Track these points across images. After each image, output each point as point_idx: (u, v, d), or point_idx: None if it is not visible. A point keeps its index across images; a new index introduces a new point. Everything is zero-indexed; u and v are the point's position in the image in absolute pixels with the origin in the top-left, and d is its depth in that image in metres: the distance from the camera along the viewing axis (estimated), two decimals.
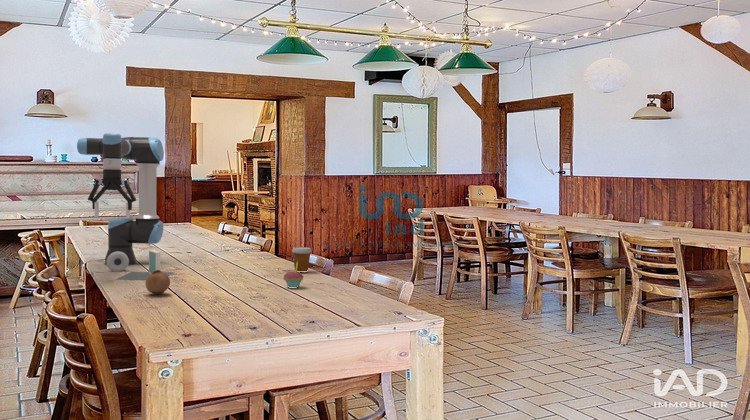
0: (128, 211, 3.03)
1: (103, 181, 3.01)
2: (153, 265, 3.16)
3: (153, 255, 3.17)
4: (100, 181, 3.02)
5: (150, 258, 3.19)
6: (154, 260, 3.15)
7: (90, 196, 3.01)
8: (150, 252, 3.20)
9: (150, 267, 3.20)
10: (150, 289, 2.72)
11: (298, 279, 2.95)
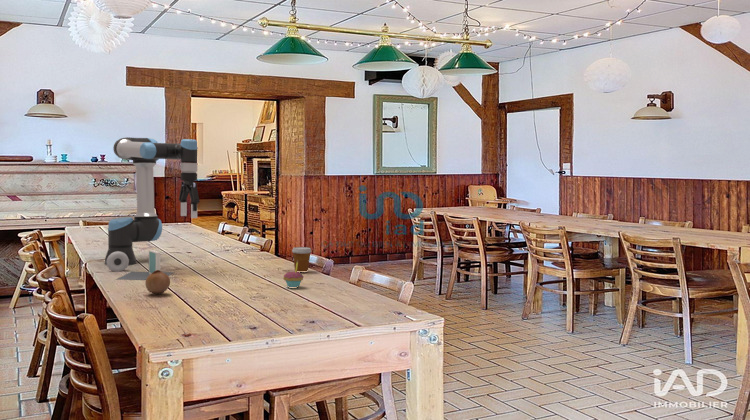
0: (194, 212, 3.21)
1: (184, 183, 3.28)
2: (153, 265, 3.16)
3: (153, 255, 3.17)
4: (184, 183, 3.30)
5: (150, 258, 3.19)
6: (154, 260, 3.15)
7: (179, 197, 3.33)
8: (150, 252, 3.20)
9: (150, 267, 3.20)
10: (150, 289, 2.72)
11: (298, 279, 2.95)
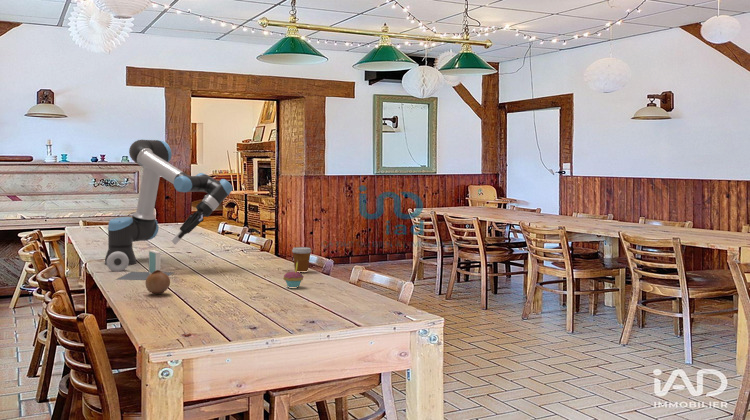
0: (177, 238, 3.23)
1: None
2: (153, 265, 3.16)
3: (153, 255, 3.17)
4: None
5: (150, 258, 3.19)
6: (154, 260, 3.15)
7: (182, 225, 3.28)
8: (150, 252, 3.20)
9: (150, 267, 3.20)
10: (150, 289, 2.72)
11: (298, 279, 2.95)
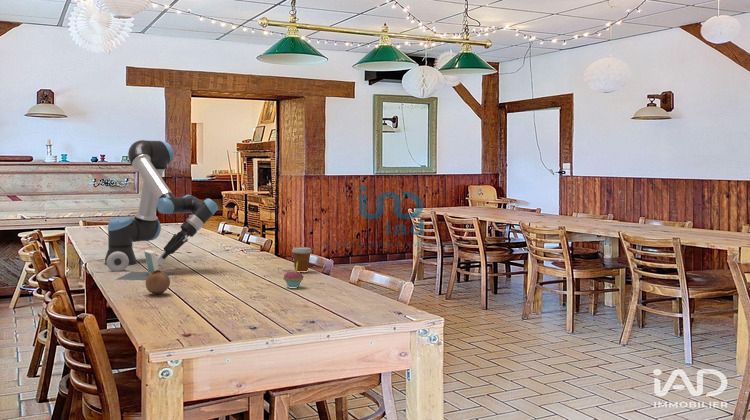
0: (161, 258, 3.19)
1: None
2: (151, 266, 3.16)
3: (149, 256, 3.15)
4: None
5: (147, 259, 3.18)
6: (151, 261, 3.15)
7: (166, 246, 3.24)
8: (146, 253, 3.18)
9: (149, 267, 3.20)
10: (150, 289, 2.72)
11: (298, 279, 2.95)
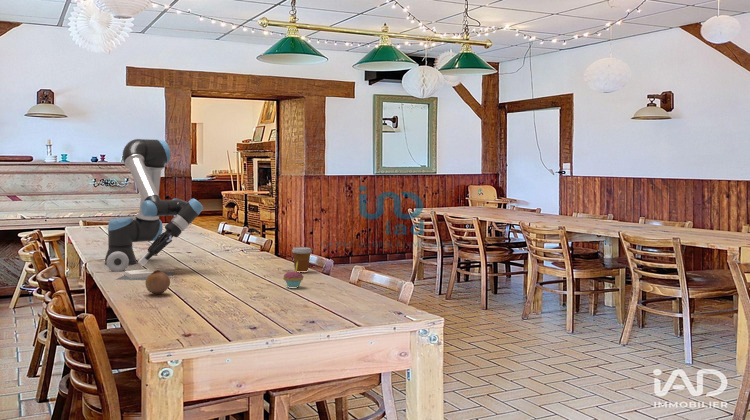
0: (144, 259, 3.15)
1: (163, 233, 3.23)
2: None
3: None
4: None
5: None
6: None
7: (150, 246, 3.20)
8: None
9: None
10: (150, 289, 2.72)
11: (298, 279, 2.95)
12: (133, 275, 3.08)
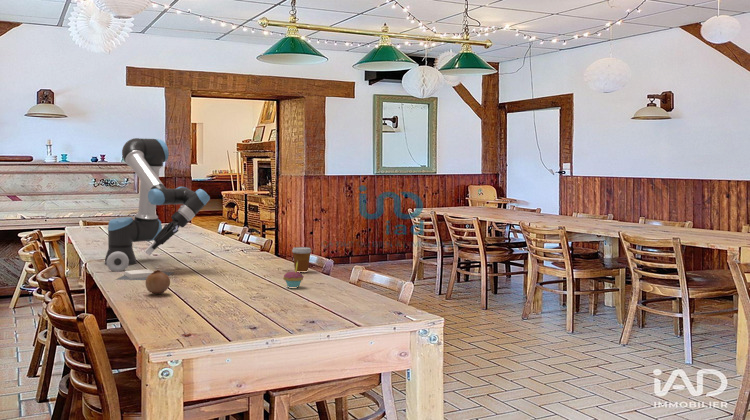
0: (151, 249, 3.17)
1: (170, 223, 3.25)
2: None
3: None
4: None
5: None
6: None
7: (156, 236, 3.22)
8: None
9: None
10: (150, 289, 2.72)
11: (298, 279, 2.95)
12: (133, 275, 3.08)
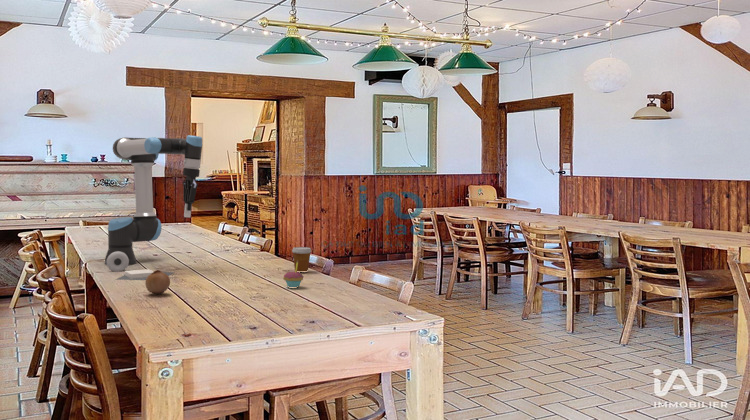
0: (187, 211, 3.30)
1: (185, 179, 3.32)
2: None
3: None
4: None
5: None
6: None
7: (183, 197, 3.32)
8: None
9: None
10: (150, 289, 2.72)
11: (298, 279, 2.95)
12: (133, 275, 3.08)
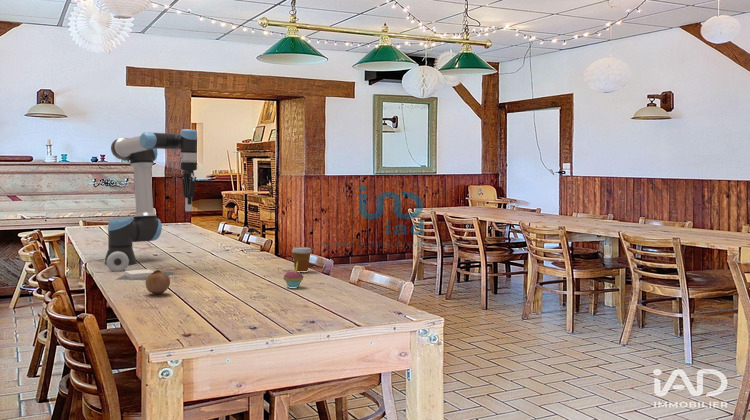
0: (188, 205, 3.30)
1: (184, 173, 3.32)
2: None
3: None
4: None
5: None
6: None
7: (183, 192, 3.32)
8: None
9: None
10: (150, 289, 2.72)
11: (298, 279, 2.95)
12: (133, 275, 3.08)
